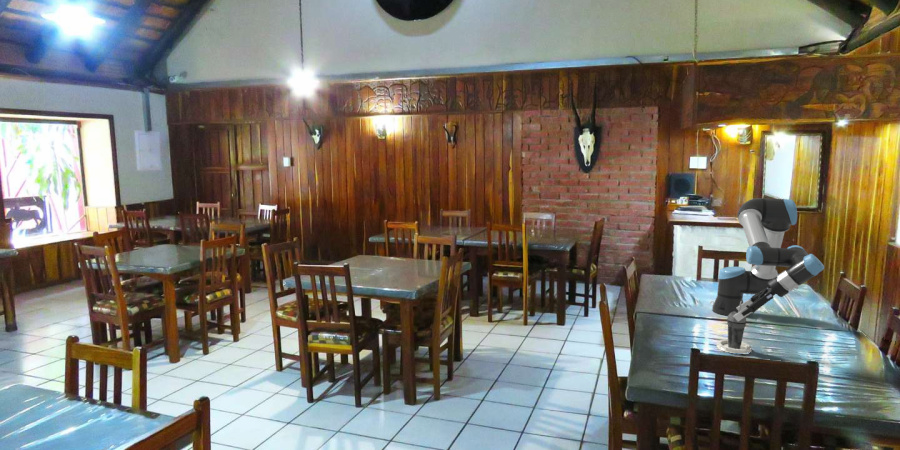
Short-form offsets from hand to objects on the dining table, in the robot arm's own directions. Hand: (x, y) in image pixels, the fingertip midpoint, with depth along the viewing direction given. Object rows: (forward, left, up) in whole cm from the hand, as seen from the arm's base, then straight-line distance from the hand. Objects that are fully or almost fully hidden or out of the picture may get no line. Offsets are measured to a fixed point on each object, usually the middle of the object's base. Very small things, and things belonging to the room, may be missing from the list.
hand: (737, 314), depth 229 cm
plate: (0, 0, -15) cm, 15 cm away
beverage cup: (0, 0, -15) cm, 14 cm away
